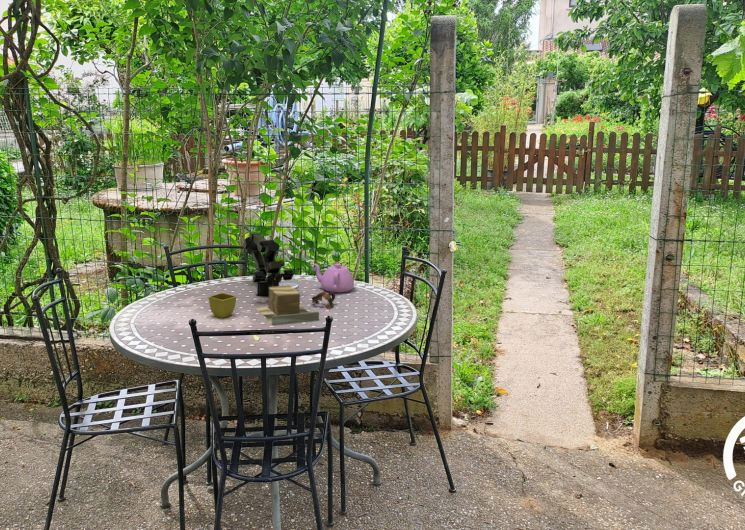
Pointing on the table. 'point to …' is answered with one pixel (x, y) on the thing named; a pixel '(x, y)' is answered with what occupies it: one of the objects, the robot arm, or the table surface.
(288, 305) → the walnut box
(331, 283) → the teapot
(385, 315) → the table surface
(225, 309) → the flower pot
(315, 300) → the brown piece
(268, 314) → the board
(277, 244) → the robot arm
